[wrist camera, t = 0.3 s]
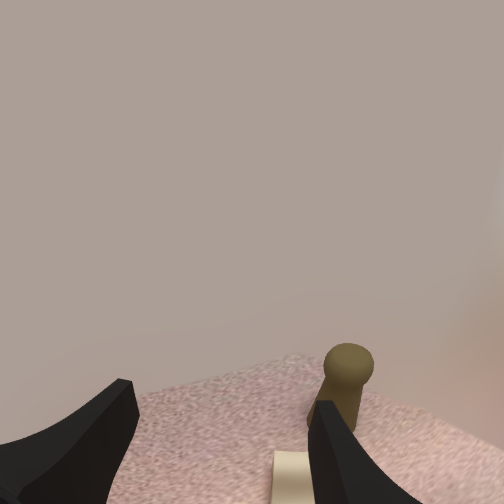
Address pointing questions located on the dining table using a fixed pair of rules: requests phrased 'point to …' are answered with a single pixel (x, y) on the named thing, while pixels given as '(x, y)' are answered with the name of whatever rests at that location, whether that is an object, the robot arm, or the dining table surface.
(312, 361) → the dining table surface
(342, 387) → the olive round-headed peg
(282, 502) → the sticky note pad
